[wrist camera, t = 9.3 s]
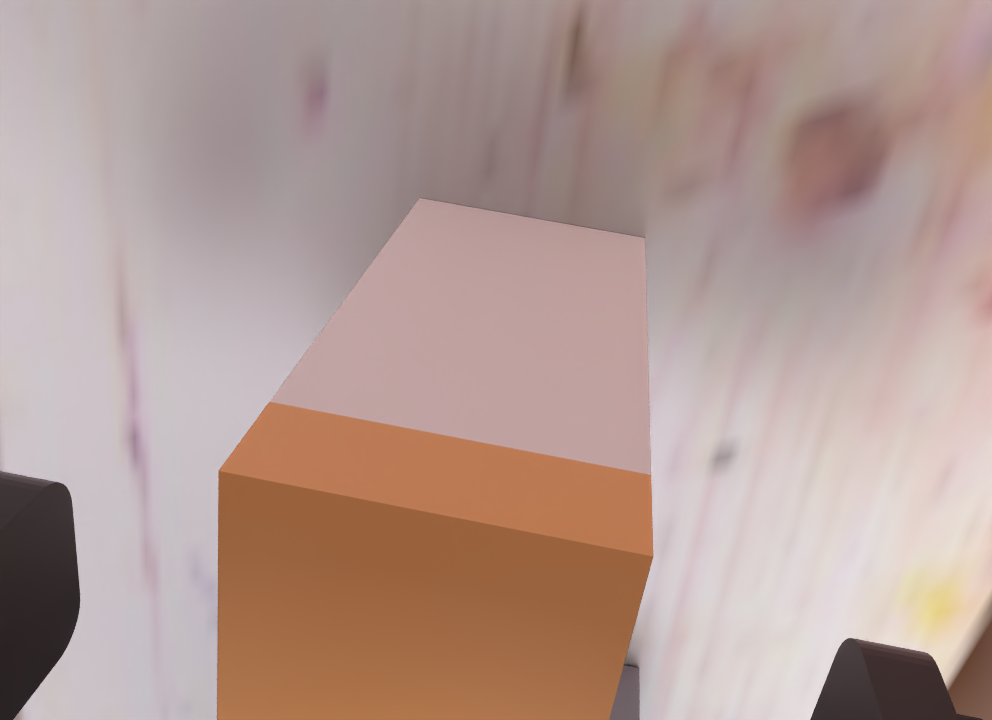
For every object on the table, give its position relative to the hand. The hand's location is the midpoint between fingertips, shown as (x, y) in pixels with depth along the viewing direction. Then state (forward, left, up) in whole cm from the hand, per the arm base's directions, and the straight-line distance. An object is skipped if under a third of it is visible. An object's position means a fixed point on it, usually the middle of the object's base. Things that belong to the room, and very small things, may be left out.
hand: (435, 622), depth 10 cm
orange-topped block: (0, 0, -7) cm, 7 cm away
